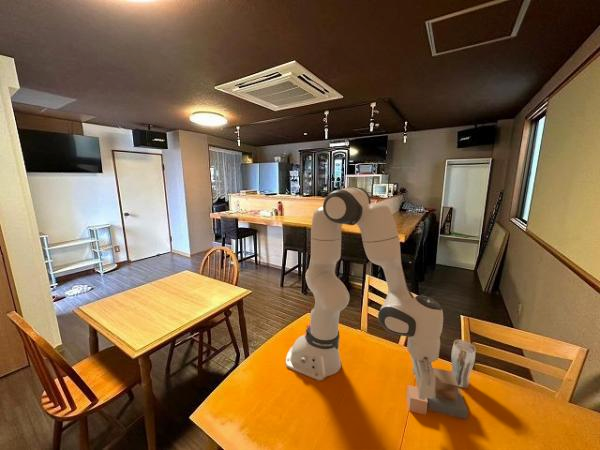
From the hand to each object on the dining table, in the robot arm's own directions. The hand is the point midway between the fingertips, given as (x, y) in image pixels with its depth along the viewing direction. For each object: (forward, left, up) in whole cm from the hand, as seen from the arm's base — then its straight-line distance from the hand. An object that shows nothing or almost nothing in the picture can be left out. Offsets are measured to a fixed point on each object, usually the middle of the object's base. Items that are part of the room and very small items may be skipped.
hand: (418, 384), depth 77 cm
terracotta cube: (0, 0, -8) cm, 8 cm away
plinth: (+9, +5, -8) cm, 13 cm away
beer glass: (+17, +15, -8) cm, 24 cm away
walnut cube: (+9, +5, -5) cm, 11 cm away
